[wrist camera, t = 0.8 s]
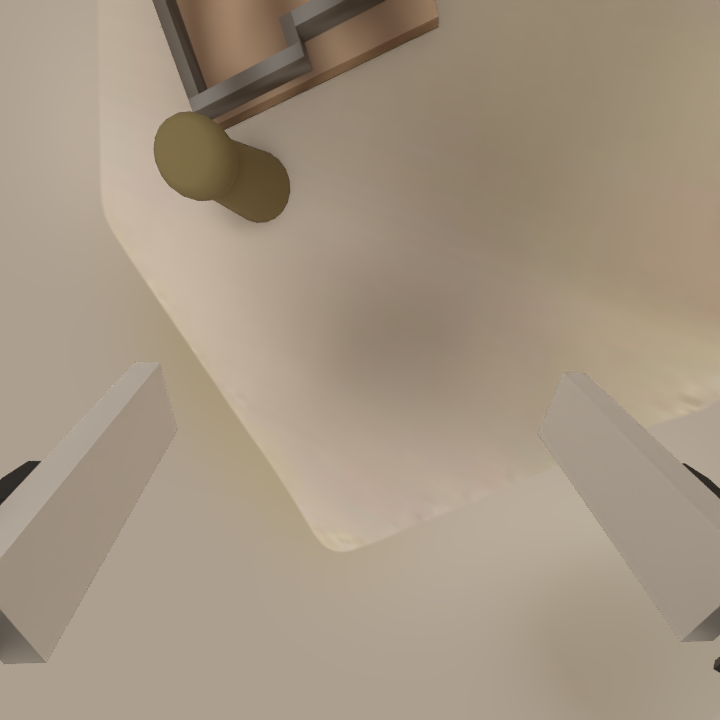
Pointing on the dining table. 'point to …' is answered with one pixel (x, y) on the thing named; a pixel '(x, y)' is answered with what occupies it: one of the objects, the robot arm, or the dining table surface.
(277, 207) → the olive tall rounded piece
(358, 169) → the dining table surface
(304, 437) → the dining table surface
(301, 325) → the dining table surface
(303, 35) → the keyhole board
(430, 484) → the dining table surface
